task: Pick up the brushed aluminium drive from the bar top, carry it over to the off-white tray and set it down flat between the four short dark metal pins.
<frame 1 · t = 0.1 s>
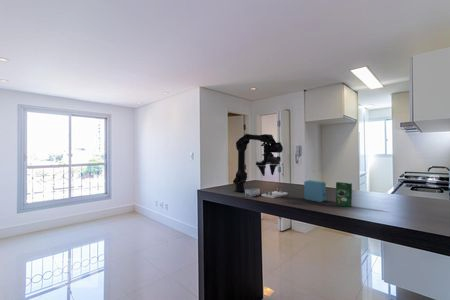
hand: (268, 175, 153), 15 cm above the table, tool pointing down, fingers open, 9 cm apart
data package: (314, 200, 141), on the table
coffee box: (344, 206, 126), on the table
pin tray: (274, 195, 158), on the table
drive: (252, 195, 159), on the table
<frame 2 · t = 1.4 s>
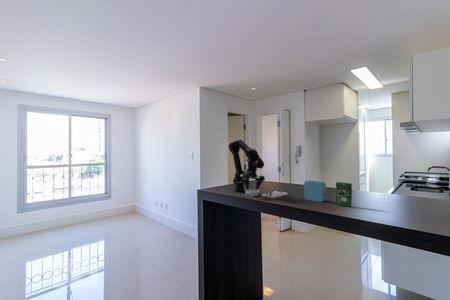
hand: (252, 189, 159), 4 cm above the table, tool pointing down, fingers open, 9 cm apart
nothing on the table moved.
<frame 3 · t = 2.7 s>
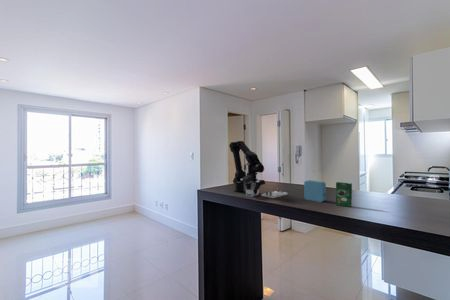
hand: (252, 193, 159), 1 cm above the table, tool pointing down, fingers closed on drive, 5 cm apart
drive: (252, 195, 159), on the table, touching gripper
everything else where it was.
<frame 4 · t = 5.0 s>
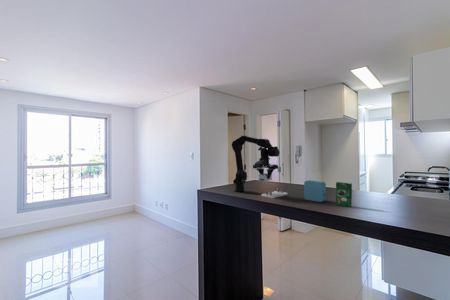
hand: (265, 178, 158), 12 cm above the table, tool pointing down, fingers closed on drive, 5 cm apart
drive: (265, 180, 158), point 10 cm above the table, touching gripper
everything else where it was.
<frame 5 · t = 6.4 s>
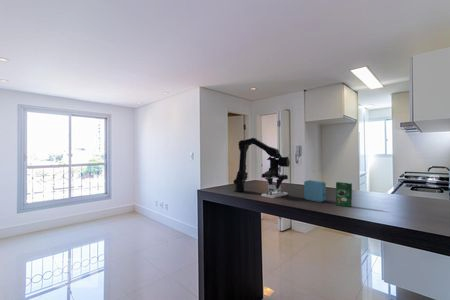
hand: (274, 188, 158), 5 cm above the table, tool pointing down, fingers closed on drive, 5 cm apart
drive: (274, 190, 158), point 3 cm above the table, touching gripper
everything else where it was.
when the fingers open (4 cm above the table, at t = 7.4 s): drive drops 1 cm, resting on pin tray.
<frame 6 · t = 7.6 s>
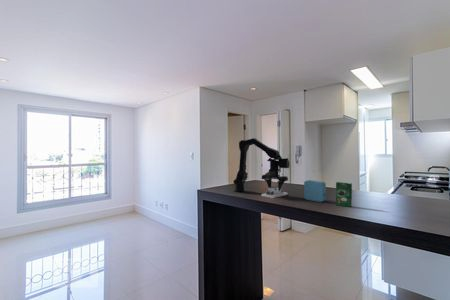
hand: (274, 189, 158), 4 cm above the table, tool pointing down, fingers open, 8 cm apart
drive: (274, 193, 158), point 1 cm above the table, touching pin tray
everything else where it was.
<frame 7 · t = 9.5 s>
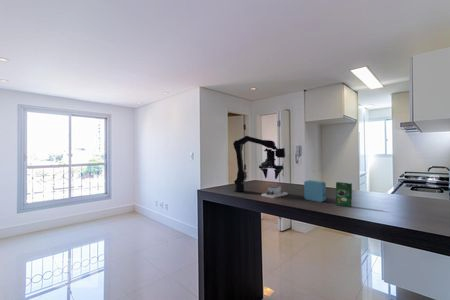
hand: (270, 178, 165), 11 cm above the table, tool pointing down, fingers open, 9 cm apart
nothing on the table moved.
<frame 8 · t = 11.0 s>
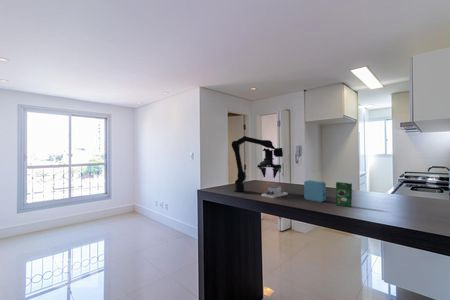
hand: (269, 177, 170), 11 cm above the table, tool pointing down, fingers open, 9 cm apart
nothing on the table moved.
at the end: drive 0.0 cm off-centre on the pin tray, point 1.2 cm above the pin tray's base; drive tilted 0°; the gripper is holding nothing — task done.
